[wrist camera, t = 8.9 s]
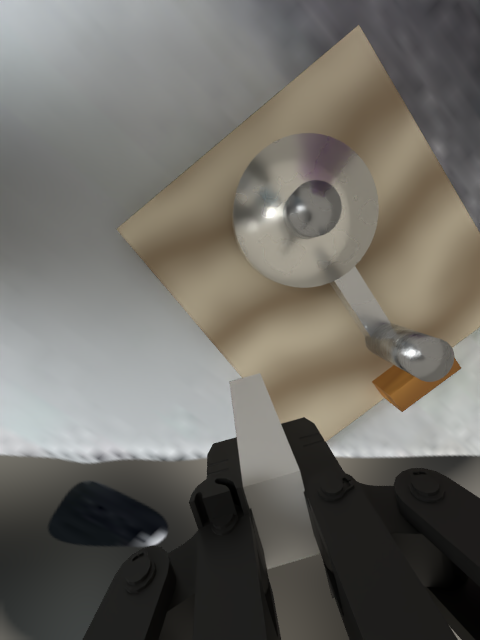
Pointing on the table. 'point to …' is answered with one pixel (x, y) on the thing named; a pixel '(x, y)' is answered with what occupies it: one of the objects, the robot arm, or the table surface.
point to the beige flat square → (322, 301)
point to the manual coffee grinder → (325, 238)
